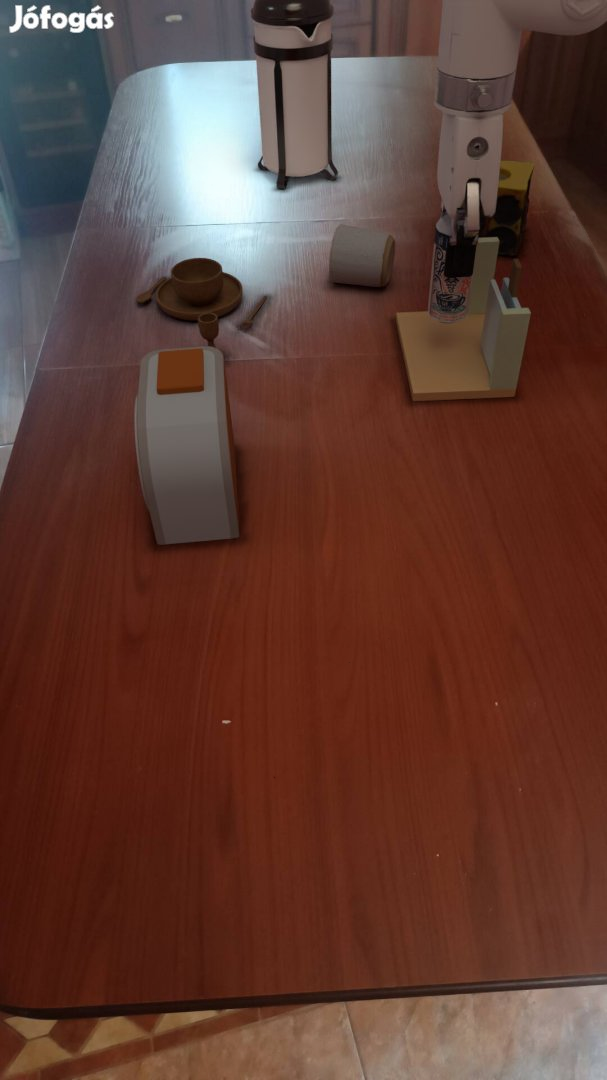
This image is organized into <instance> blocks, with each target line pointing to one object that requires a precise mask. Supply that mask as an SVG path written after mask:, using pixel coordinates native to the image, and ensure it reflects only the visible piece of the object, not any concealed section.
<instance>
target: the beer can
mask: <svg viewBox="0 0 607 1080" xmlns="http://www.w3.org/2000/svg"><path fill="white" fill-rule="evenodd" d="M457 212H458V213H463V212H465V210H457ZM464 223H465V220H458V229H459V227H460V226H464ZM458 229H457V231H458ZM479 230H480V226H479ZM450 231H451V217H450V216H449V215H448V213H447V211H446V212H444V213H443V214H442V215H440V217H439V218H438V220H437V222H436V224H435V230H434V241H433V250H432V260H431V269H430V270H431V271H430V272H431V273H430V280H429V281H430V283H429V291H428V300H427V301H428V303H427V311H428V314H429V315H430V317H431V318H433V319H435V320H436V321H439V322H441V323H455V322H458V321H461V320H463V319H465V318H466V317H467V315H468V310H469V303H470V296H471V288H472V281H473V275H472V276H470V277H453V278H446V277H445V276H444V263H445V254H446V245H447V241H450ZM478 237H479V232H478ZM477 245H478V239H477ZM476 252H477V247H476ZM475 259H476V255H475ZM474 267H475V262H474ZM473 274H474V270H473Z"/></svg>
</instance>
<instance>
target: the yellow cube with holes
mask: <svg viewBox="0 0 607 1080" xmlns="http://www.w3.org/2000/svg"><path fill="white" fill-rule="evenodd" d="M535 166H536V163H535V162H532V161H517V160H516V161H515V160H503V159H501V163H500V173H499V182H498V192H497V201H496V210H495V213H494V215H493V216H492V217H487V216H485V215H484V213H483V210H482V208H481V206H480V212H479V226H480V230H479V237H478V238H488V237H498V239H499V248H498V254H497V255H501V256H506V257H507V256H508V257H515V256H517V255H518V252H519V250H520V248H521V244H522V241H523V238H524V236H523V232H524V231H525V230H526V226H527V219H528V213H529V205H530V198H529V195H530V188H531V183H532V177H533V173H534V169H535Z"/></svg>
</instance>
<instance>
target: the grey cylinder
mask: <svg viewBox="0 0 607 1080" xmlns="http://www.w3.org/2000/svg"><path fill="white" fill-rule="evenodd" d="M395 255H396V239H395V237H394V236H393V235H392V234H389V233H386V232H385V231H384V232H383V231H380V230H373V229H367V228H363V227H357V226H353V225H347V224H338V225H337V227H336V229H335V231H334V233H333V236H332V240H331V245H330V251H329V259H328V261H329V263H328V275H329V280H330V282H332V283H336V284H337V283H338V284H346V285H352V286H353V285H354V286H356V285H357V286H363V287H371V288H382V287H385V286H386V285H388V283H389V281H390V278H391V275H392V271H393V267H394V262H395Z"/></svg>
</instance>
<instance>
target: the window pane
mask: <svg viewBox="0 0 607 1080" xmlns="http://www.w3.org/2000/svg"><path fill="white" fill-rule="evenodd" d="M522 271H523V266H522V264H521V262H520V259H519V258H512V263H511V269H510V275H509V277H503V278H502V284H501V290H500V293H501V296H502V298H503V300H504V303H505V305H506V308H507V309H509V308H522V306H521V304H520V302H519V300H518V294H519V288H520V283H521V276H522Z"/></svg>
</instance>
